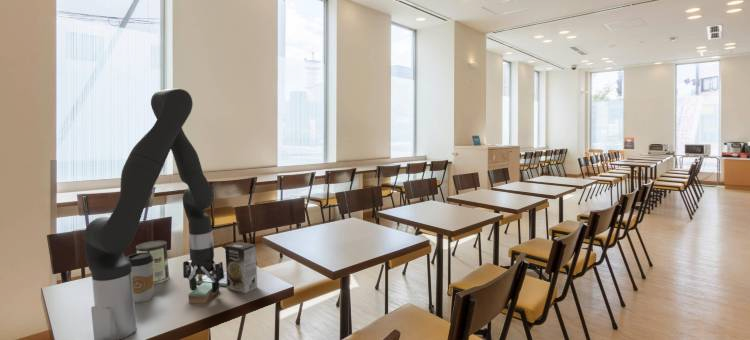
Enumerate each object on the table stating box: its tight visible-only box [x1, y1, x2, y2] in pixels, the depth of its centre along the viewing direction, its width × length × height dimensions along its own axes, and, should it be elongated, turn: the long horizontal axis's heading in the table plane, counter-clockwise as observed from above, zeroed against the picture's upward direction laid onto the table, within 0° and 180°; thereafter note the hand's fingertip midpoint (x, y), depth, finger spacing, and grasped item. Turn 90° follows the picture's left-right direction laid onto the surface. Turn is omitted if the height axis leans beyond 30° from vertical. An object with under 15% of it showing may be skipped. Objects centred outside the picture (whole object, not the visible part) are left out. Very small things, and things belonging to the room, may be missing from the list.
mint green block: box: [187, 283, 220, 304], centre depth 135 cm, size 10×6×3 cm, turn 176°
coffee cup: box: [126, 252, 154, 303], centre depth 134 cm, size 8×8×15 cm
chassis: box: [196, 260, 227, 287], centre depth 150 cm, size 11×14×5 cm
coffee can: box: [135, 240, 170, 285], centre depth 150 cm, size 10×10×14 cm
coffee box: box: [224, 241, 258, 294], centre depth 141 cm, size 9×6×16 cm
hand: (204, 290), depth 136 cm, fingers open, 8 cm apart
